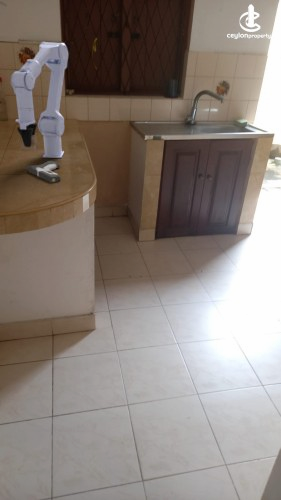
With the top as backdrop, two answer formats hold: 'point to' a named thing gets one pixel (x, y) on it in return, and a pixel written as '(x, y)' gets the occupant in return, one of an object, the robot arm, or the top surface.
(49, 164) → the handgun
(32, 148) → the walnut cube
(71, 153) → the top surface
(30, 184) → the top surface
